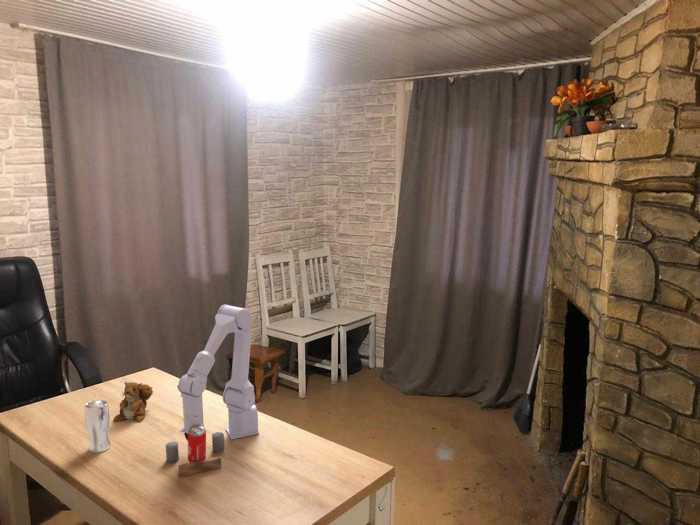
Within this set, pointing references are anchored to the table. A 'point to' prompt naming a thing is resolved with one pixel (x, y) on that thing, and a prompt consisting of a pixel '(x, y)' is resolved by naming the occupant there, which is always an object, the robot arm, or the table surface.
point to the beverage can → (196, 443)
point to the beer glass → (97, 425)
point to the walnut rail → (199, 466)
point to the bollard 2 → (218, 442)
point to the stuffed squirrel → (134, 401)
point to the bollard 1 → (172, 452)
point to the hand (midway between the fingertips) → (195, 454)
